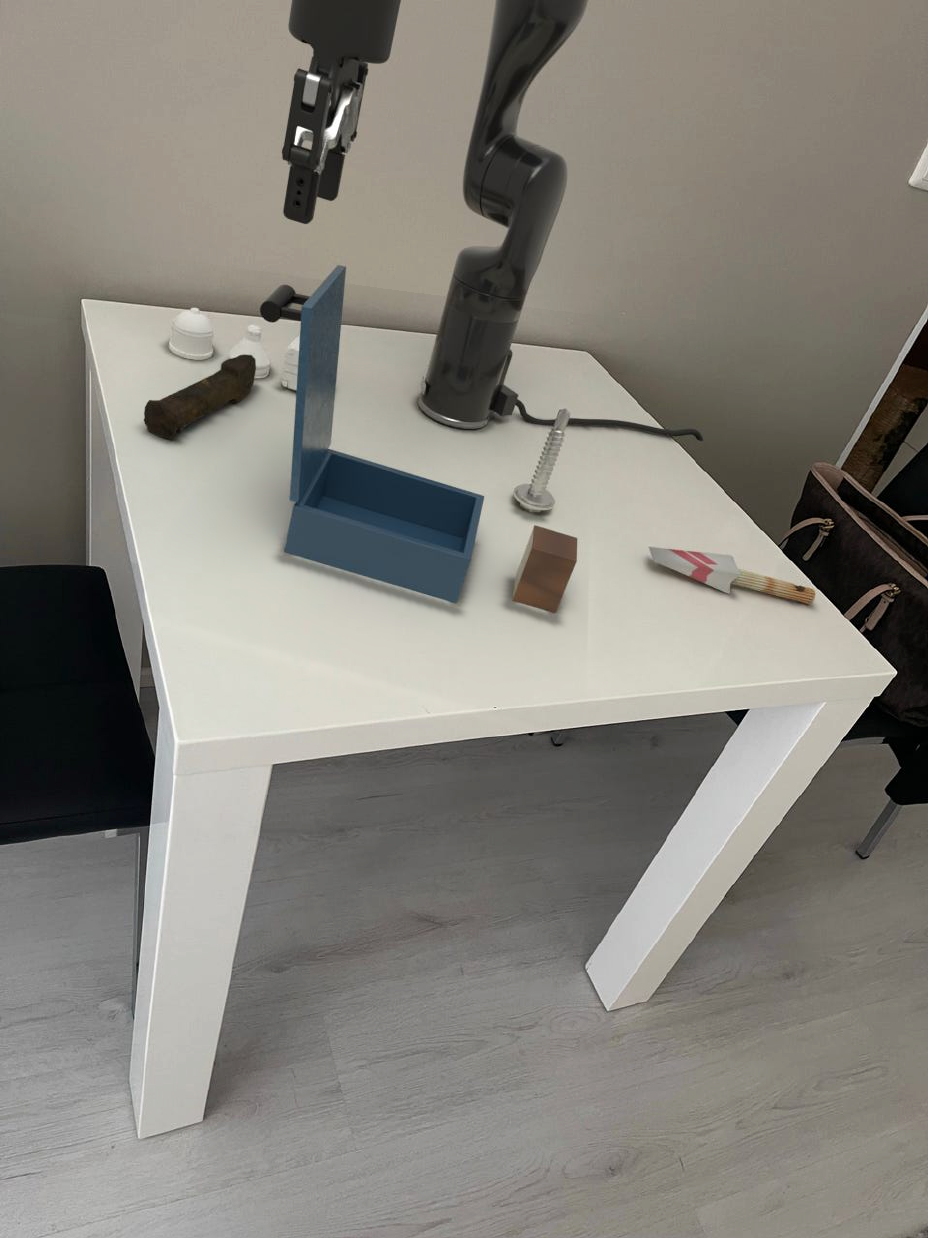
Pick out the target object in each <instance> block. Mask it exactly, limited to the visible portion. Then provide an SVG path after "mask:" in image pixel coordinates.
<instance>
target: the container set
mask: <svg viewBox="0 0 928 1238" xmlns="http://www.w3.org/2000/svg"><path fill="white" fill-rule="evenodd" d="M262 331H263V330H262V329H261V327H260V326H258V325H256V324H249V325H248V326H246V331H245V336H244V337H243V338H242V339H241V340H240V341H239V342H238V343H237V344H236V345H235V346H234V347H233V348H232V349H231V350H230V351H229V353H228V359H232V358H235V357H238V356H239V355H252V356H253V357H254V358H255V360H256V371H255V377H254V379H263V378H266V377H267V376H268V375H269V374H270V368H271V367H270V366H271V358H270V356H269V354H268V352H267V350H266V348H265V347H264V344H263V342H262V340H261V338H262V333H263V332H262ZM214 335H215V330H214V325H213V323H212V321H211V320H210V319H209V317H208V316H207V315H206V314H204V313H203V312H201V311H200V309H199V308H197V307H191V308H190V309H188V310H187V309H186V310H184V311H182V312H180V313H179V314H178V315H176V316H175V318H174V319H173V321H172V324H171V335H170V339H169V342H168V349H169V351H170V352H172V353H173V354H174V355H176V356H178V357H181V358H184V359H188V360H195V361H202V360H204V361H205V360H209V359H211V358H212V357H213V353H214V349H213V340H214ZM299 342H300V334H299V335H298V336H297V337H295V339H294V340H293V341H292V342H291V343H290V344H289V345H288V346H287V349H286V353H285V359H284V364H283V365H284V366H283V371H282V377H281V385H282V386H283V387H284V388H288V389H290V390H293V391H296V390H297V374H298V358H299Z"/></svg>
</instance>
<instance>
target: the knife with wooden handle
mask: <svg viewBox="0 0 928 1238" xmlns="http://www.w3.org/2000/svg"><path fill="white" fill-rule="evenodd" d="M648 550H649V553H650V556H651V559H652V561H653V562H655V563H658V564H659V565H662V566H664V567H667V568H669V569H671V570H672V571H673V570H674V571H676V572H679V573H681V574H682V575H685V576H687V577H690V578H692V579H694V580H696V581H698V582H700V583H703V584H705V585H708V586H710V587H712V588H714V589H716V590H718V591H721V592H723V593H725V594H728V595H730V593H731V592H730V591H731V584H732V585H735V586H739V587H743V588H747V589H750V590H754V591H757V592H762V593H764V594H768V595H773V596H777V597H780V598H784V599H787V600H794V601H796V602H799V603H803V604H807V605H810V604H812V603H813V602H814V600H815V597H816V591H815V589H814V588H810V587H807V586H803V585H796V584H795V583H792V582H790V581H786V580H781V579H777V578H774V577H771V576H767V575H763V574H759V573H755V572H752V571H748V570H745V569H741V568H738V566H737V564H736V561H735V559H734V557H733V555H732V554H731V555H730V554H721V553H712V552H703V551H693V550H682V549H676V548H675V549H674V548H666V547H665V548H663V547H655V546H648Z"/></svg>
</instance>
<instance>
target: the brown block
mask: <svg viewBox="0 0 928 1238" xmlns="http://www.w3.org/2000/svg"><path fill="white" fill-rule="evenodd" d="M577 562H578V537H575V536H572V535H569V534H566V533H562V532H560V531H555V530H552V529H549V528H546V527H544V526H543V527H542V526H539V525H533V527H532V530H531V533H530V536H529V538H528V541H527V544H526V547H525V549H524V552H523V554H522V558H521V561H520V563H519V566H518V568H517V571H516V574H515V576H514V583H513V590H512V591H513V592H512V599H511V601H513V602H515V603H519V604H521V605H525V606H529V607H532V608H535V609H538V610H543V611H545V612H549V613H552V614H556V613H557V610H558V608H559V606H560V604H561V601H562V599H563V596H564V594H565V591H566V589H567V586H568V584H569V582H570V579H571V576H572V574H573V572H574V569H575V567H576V564H577Z"/></svg>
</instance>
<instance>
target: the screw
mask: <svg viewBox="0 0 928 1238" xmlns="http://www.w3.org/2000/svg"><path fill="white" fill-rule="evenodd" d="M569 418H571V412H570V411H569V410H568V409H567V408H562V409H561V408H559V409H558V412H557V414H556V417H555V419H556V420H555V423H554V426H551V427H550V431H549V432H547V434H548V436H546V441H544V445H545V446H543V447H542V449H543V450H542V451H541V455H540V456H539V459H540V460H537V463H538V464H537V465H536V469H534V474H533V475H532V477H533V478H531V483H522V484H519V485H517V486H515V487H513V492H512V494H513V497H514V498H515V499H516V500H517V502H519V506H520V507H521V508H523V509H525V510H526V511H527V512H528V513H541V512H542V511H548V510H551V509H553V508H554V506H555V504H556V499H555V498H554V497H553V495H552V493H551V492H550V491H549V490H547V486H548V484H549V480H550V479H551V476H552V475H553V473H552V472H553V471H554V467H555V465H556V462H557V460H558V459H557V458H558V457H559V453H560V452H561V448H562V447H563V443H564V441H565V439H564V438H565V437H566V434H565V431H566V428H567V425H568V424H567V423H568V420H569Z"/></svg>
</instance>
